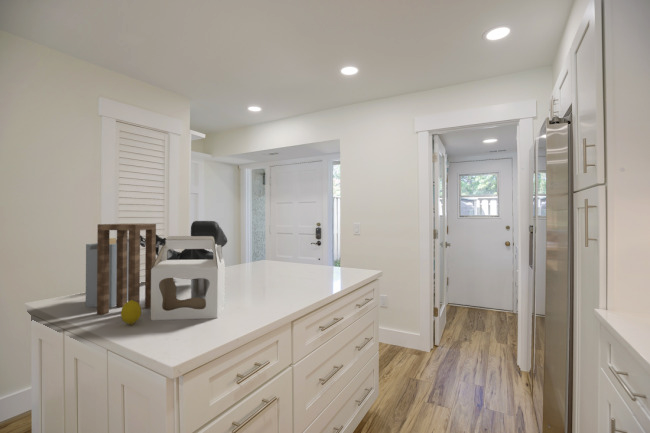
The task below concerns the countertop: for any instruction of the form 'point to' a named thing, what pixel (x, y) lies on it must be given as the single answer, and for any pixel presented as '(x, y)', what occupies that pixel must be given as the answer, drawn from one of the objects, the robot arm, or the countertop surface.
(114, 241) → the bar
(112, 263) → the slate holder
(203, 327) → the countertop surface
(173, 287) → the gable box
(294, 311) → the countertop surface
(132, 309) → the lemon
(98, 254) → the walnut stand
